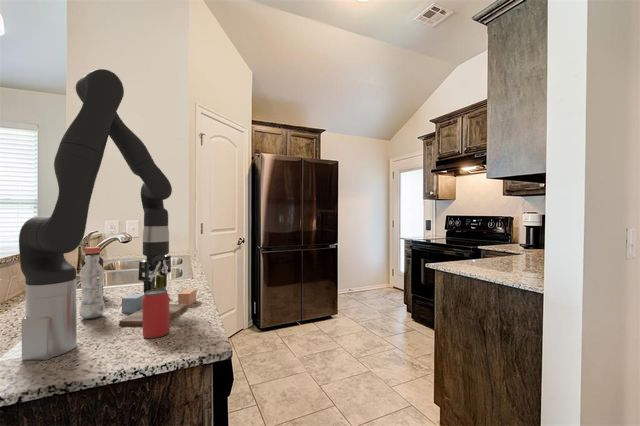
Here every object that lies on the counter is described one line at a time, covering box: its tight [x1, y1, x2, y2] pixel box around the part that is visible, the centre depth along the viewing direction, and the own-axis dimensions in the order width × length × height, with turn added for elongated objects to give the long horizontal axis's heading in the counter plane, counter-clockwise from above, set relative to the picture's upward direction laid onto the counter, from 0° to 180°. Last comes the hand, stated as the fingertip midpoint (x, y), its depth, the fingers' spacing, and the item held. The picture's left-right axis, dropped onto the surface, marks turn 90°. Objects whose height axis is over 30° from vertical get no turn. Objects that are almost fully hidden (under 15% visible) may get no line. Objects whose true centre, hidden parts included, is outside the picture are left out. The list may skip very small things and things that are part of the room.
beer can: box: [142, 288, 170, 339], centre depth 83 cm, size 7×7×12 cm
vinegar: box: [81, 246, 104, 293], centre depth 118 cm, size 7×7×20 cm
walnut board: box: [118, 303, 188, 327], centre depth 97 cm, size 16×13×2 cm
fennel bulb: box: [143, 274, 165, 295], centre depth 97 cm, size 6×5×12 cm
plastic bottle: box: [79, 254, 106, 320], centre depth 96 cm, size 6×7×20 cm
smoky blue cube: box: [121, 293, 144, 314], centre depth 103 cm, size 5×5×5 cm
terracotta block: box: [177, 288, 197, 307], centre depth 111 cm, size 6×4×4 cm, turn 179°
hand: (155, 290), depth 96 cm, fingers open, 8 cm apart
